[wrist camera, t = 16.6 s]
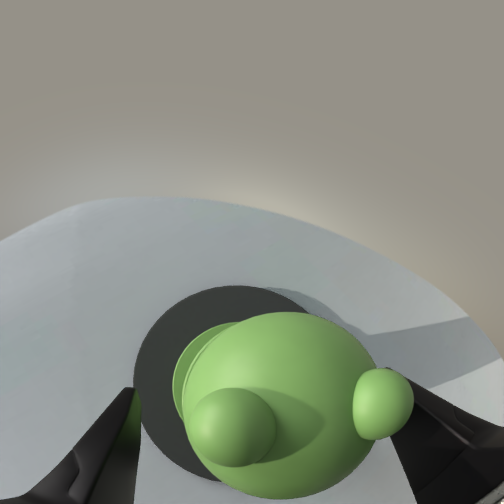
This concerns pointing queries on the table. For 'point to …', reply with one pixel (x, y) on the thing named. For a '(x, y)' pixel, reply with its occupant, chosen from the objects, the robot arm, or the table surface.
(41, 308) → the table surface
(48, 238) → the table surface
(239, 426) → the toy
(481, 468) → the robot arm
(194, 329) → the mat
